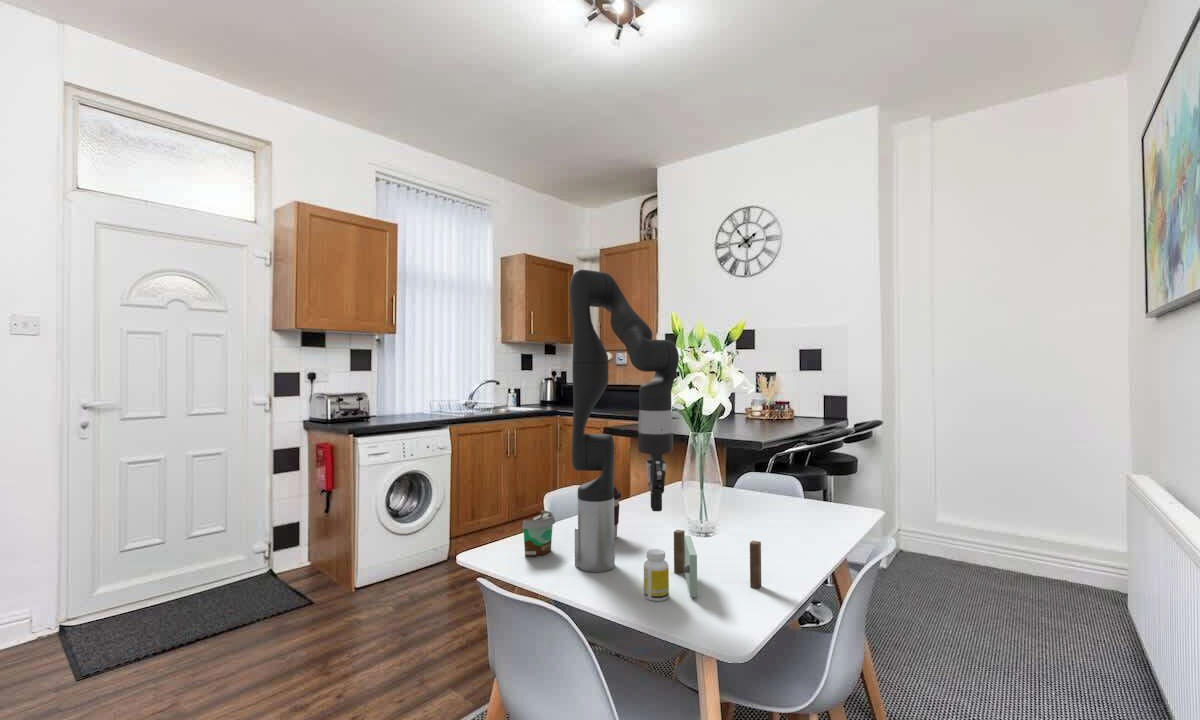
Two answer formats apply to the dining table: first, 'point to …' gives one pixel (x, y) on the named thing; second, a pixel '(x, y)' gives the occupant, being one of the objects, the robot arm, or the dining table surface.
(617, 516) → the coffee cup
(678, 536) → the door frame
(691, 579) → the door
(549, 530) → the food container
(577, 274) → the robot arm
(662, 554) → the supplement bottle
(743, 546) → the dining table surface
